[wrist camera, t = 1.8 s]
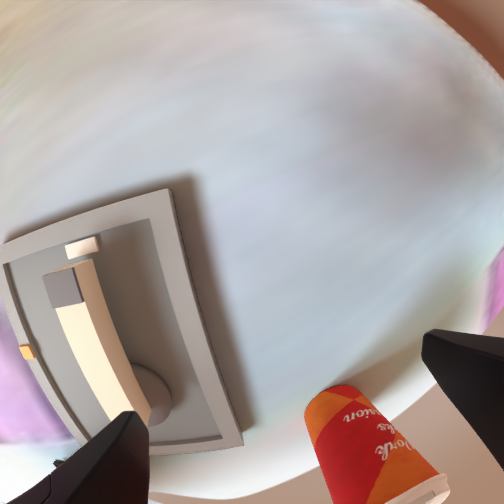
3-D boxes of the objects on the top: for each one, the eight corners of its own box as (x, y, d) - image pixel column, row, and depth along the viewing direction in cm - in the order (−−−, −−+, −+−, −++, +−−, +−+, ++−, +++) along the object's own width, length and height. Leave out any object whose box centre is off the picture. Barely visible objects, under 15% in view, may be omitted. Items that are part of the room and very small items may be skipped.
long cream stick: (182, 416, 19) (179, 448, 15) (120, 420, 18) (109, 450, 15) (120, 249, 16) (97, 260, 13) (52, 268, 16) (23, 281, 12)
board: (241, 433, 22) (244, 447, 20) (91, 443, 20) (86, 455, 18) (171, 189, 18) (166, 187, 16) (0, 247, 16) (-13, 251, 14)
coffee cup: (380, 400, 23) (459, 492, 9) (318, 445, 23) (369, 550, 9) (348, 357, 22) (453, 476, 7) (274, 412, 22) (324, 553, 7)
